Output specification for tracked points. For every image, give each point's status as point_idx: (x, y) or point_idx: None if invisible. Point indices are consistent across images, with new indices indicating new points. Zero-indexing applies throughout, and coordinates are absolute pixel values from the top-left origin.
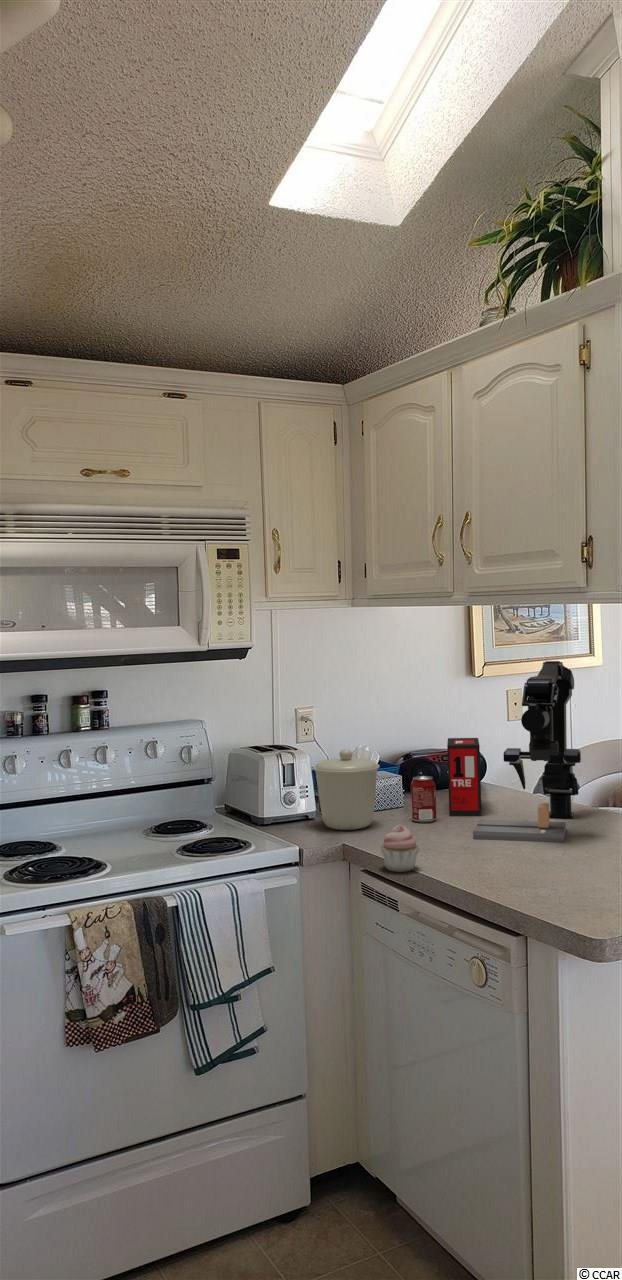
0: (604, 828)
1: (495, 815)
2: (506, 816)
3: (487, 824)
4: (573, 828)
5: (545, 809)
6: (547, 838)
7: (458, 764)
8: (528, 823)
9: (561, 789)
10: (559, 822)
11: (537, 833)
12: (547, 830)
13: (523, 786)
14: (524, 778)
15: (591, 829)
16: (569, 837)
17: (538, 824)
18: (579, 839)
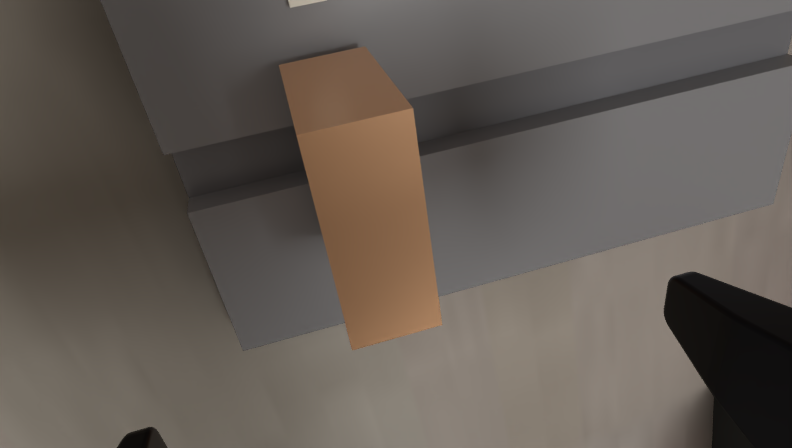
0: (32, 437)
1: (653, 418)
2: (605, 424)
3: (743, 79)
4: (213, 363)
5: (319, 119)
6: None
7: None
8: (475, 216)
9: (140, 433)
10: (279, 324)
11: None
12: (277, 38)
13: (718, 289)
14: (779, 432)
15: (95, 387)
16: (128, 127)
17: (367, 52)
18: (18, 90)
